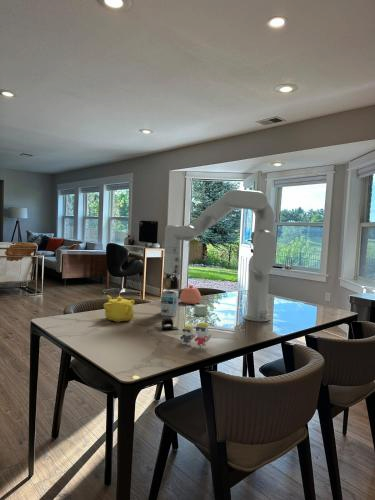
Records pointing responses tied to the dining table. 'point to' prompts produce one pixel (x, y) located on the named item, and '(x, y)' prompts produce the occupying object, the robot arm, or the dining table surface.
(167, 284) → the block
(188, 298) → the sugar bowl
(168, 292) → the light bulb box
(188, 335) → the toy figures
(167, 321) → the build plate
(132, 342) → the dining table surface
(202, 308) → the cube
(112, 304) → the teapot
